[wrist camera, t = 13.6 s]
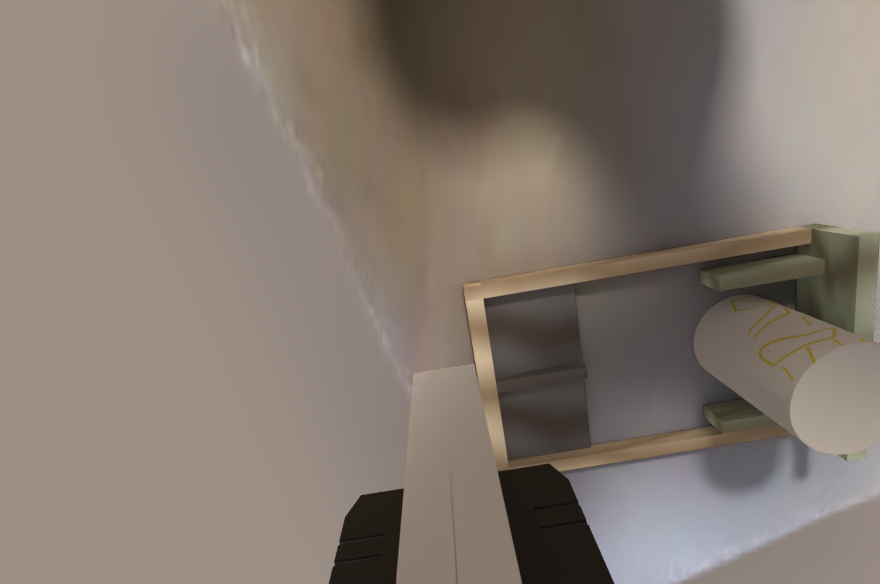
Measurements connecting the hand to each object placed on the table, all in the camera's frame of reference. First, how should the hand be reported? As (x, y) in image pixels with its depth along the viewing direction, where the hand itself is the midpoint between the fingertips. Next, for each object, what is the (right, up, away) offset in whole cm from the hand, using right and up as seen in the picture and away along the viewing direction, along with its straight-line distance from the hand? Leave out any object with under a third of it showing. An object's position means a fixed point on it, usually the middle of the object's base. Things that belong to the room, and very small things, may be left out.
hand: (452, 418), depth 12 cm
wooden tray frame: (+18, -3, +31) cm, 36 cm away
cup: (+27, -1, +31) cm, 41 cm away
